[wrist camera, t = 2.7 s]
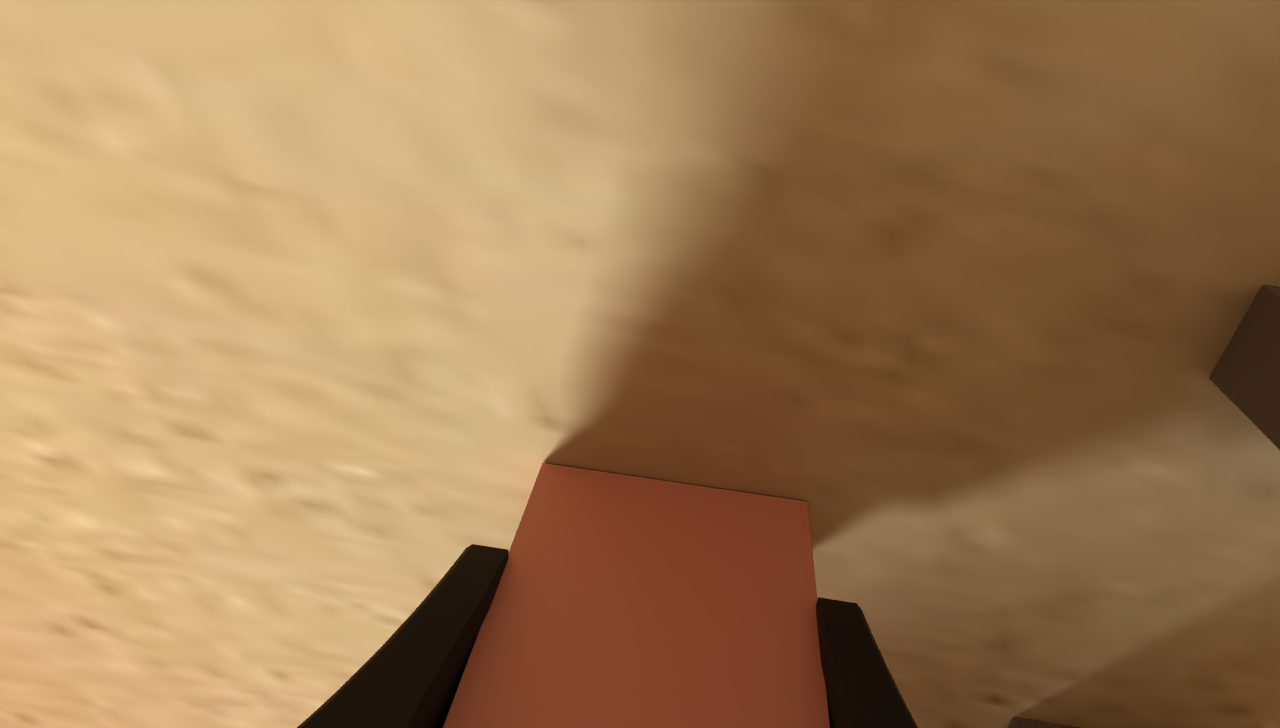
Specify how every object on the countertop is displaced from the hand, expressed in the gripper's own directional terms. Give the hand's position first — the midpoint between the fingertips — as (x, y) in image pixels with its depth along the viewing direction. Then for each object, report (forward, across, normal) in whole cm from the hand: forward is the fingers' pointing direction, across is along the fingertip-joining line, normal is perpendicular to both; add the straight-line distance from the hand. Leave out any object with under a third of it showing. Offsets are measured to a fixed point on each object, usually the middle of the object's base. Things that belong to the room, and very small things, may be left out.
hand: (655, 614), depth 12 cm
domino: (+2, 0, 0) cm, 2 cm away
